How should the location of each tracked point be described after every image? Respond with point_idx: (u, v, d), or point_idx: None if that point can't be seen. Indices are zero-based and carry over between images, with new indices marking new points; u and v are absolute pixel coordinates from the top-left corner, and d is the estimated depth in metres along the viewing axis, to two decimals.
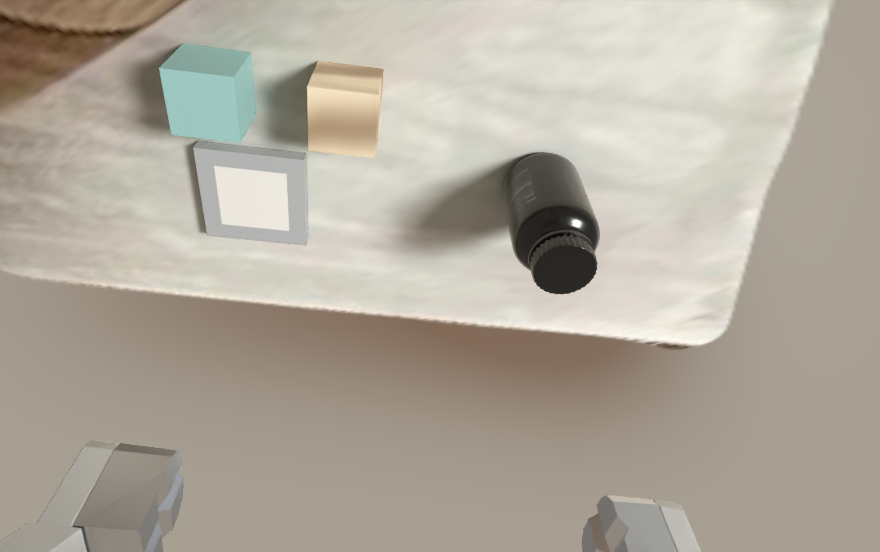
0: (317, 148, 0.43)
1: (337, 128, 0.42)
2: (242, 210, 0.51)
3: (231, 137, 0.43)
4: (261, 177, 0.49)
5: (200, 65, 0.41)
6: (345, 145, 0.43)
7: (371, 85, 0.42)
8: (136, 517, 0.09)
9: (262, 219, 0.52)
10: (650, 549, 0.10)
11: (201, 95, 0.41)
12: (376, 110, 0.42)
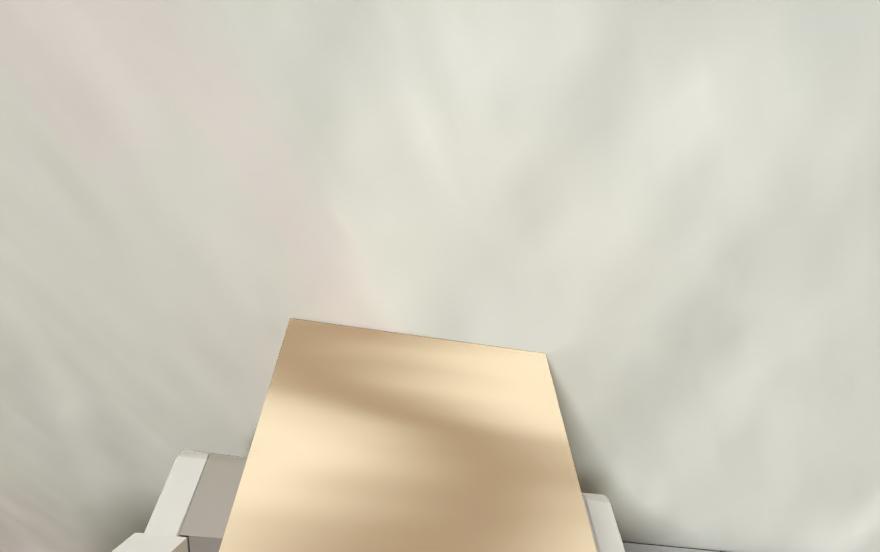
0: None
1: None
2: None
3: None
4: None
5: None
6: None
7: None
8: None
9: None
10: None
11: None
12: None
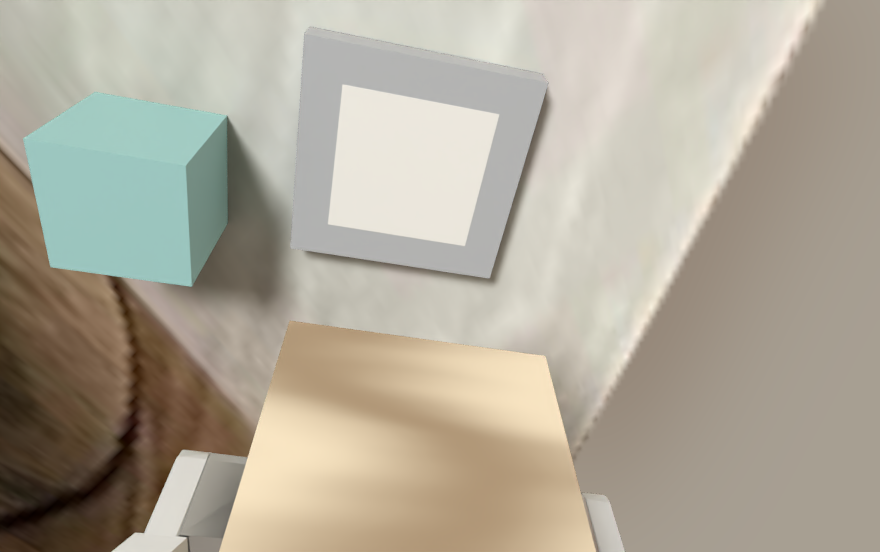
0: None
1: None
2: (434, 199, 0.24)
3: (176, 180, 0.19)
4: (353, 142, 0.23)
5: None
6: None
7: None
8: None
9: (460, 165, 0.23)
10: None
11: (87, 211, 0.20)
12: None
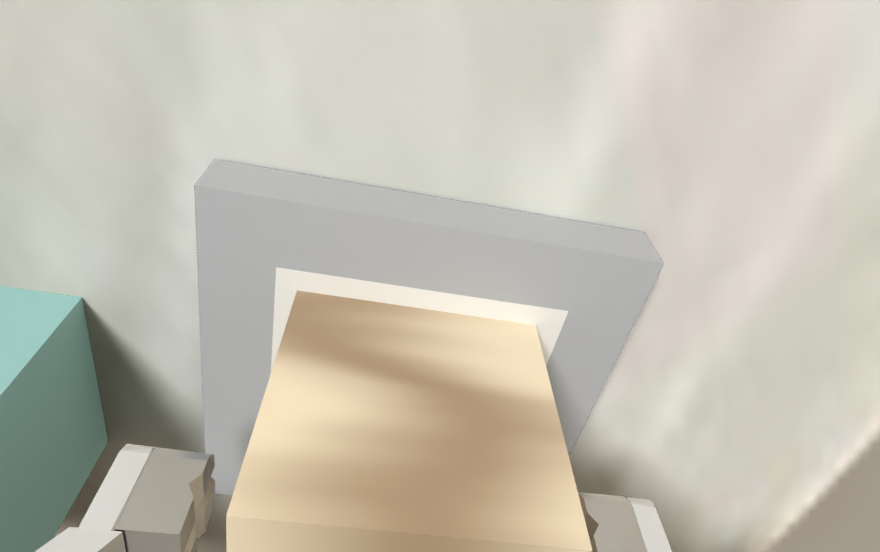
0: None
1: None
2: None
3: None
4: None
5: None
6: None
7: None
8: (175, 521, 0.09)
9: None
10: (619, 546, 0.10)
11: None
12: (317, 526, 0.08)
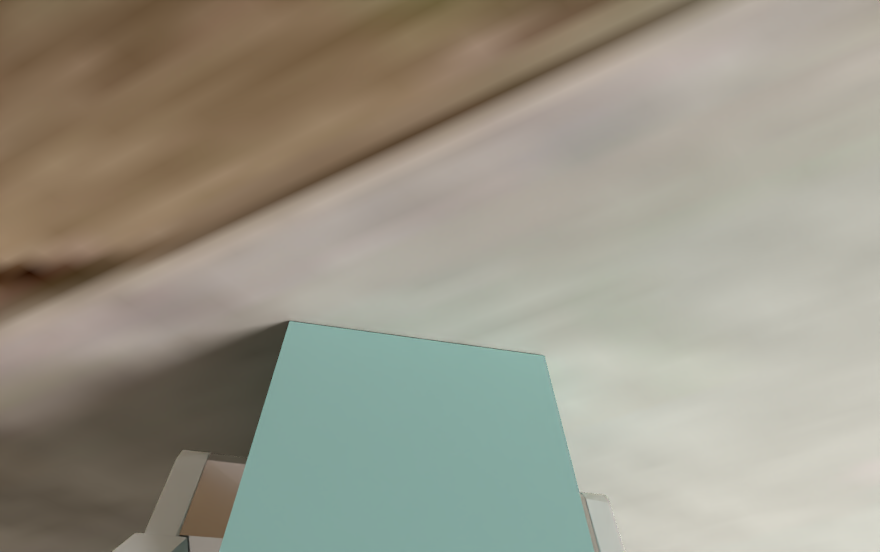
0: None
1: None
2: None
3: None
4: None
5: (409, 513, 0.08)
6: None
7: None
8: None
9: None
10: None
11: None
12: None
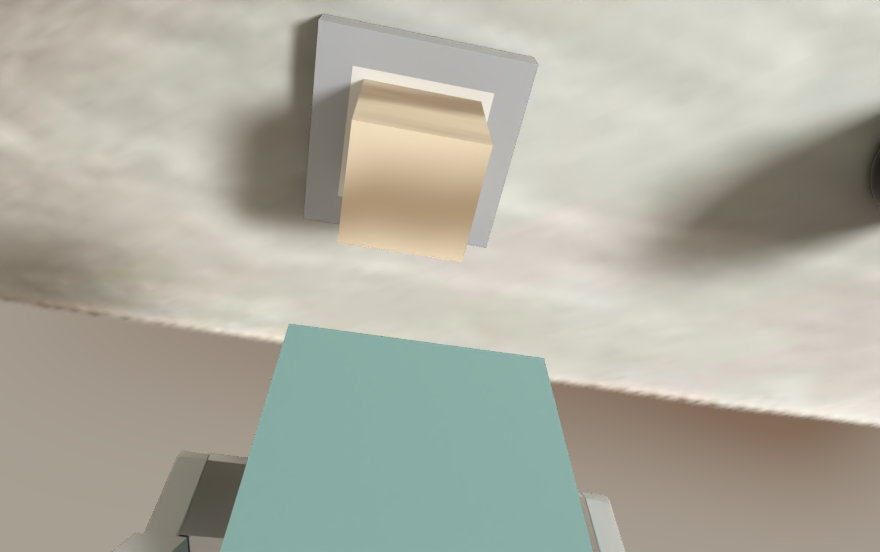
0: (356, 239, 0.23)
1: (400, 205, 0.22)
2: None
3: None
4: None
5: (408, 516, 0.08)
6: (411, 237, 0.23)
7: (473, 127, 0.22)
8: None
9: None
10: None
11: None
12: (482, 174, 0.21)
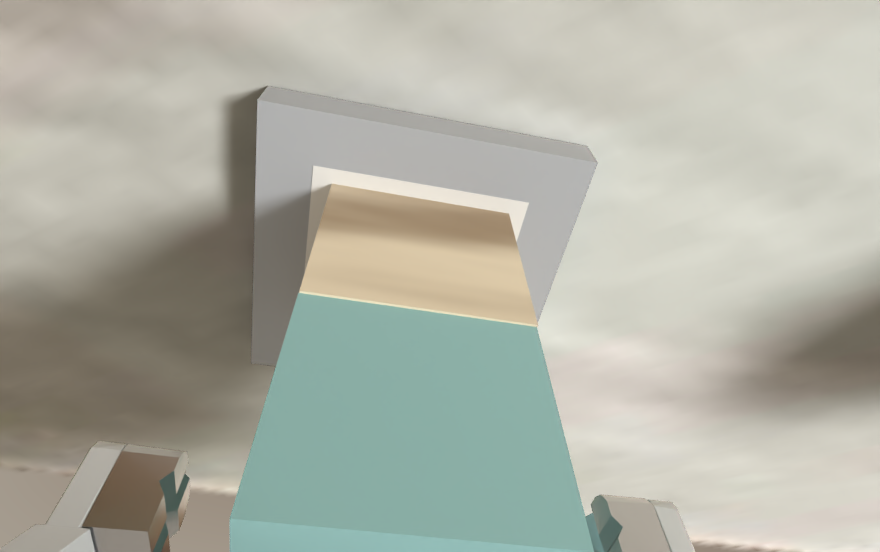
0: None
1: None
2: None
3: None
4: None
5: (409, 459, 0.09)
6: None
7: (502, 280, 0.13)
8: (144, 518, 0.09)
9: None
10: (644, 548, 0.10)
11: None
12: None
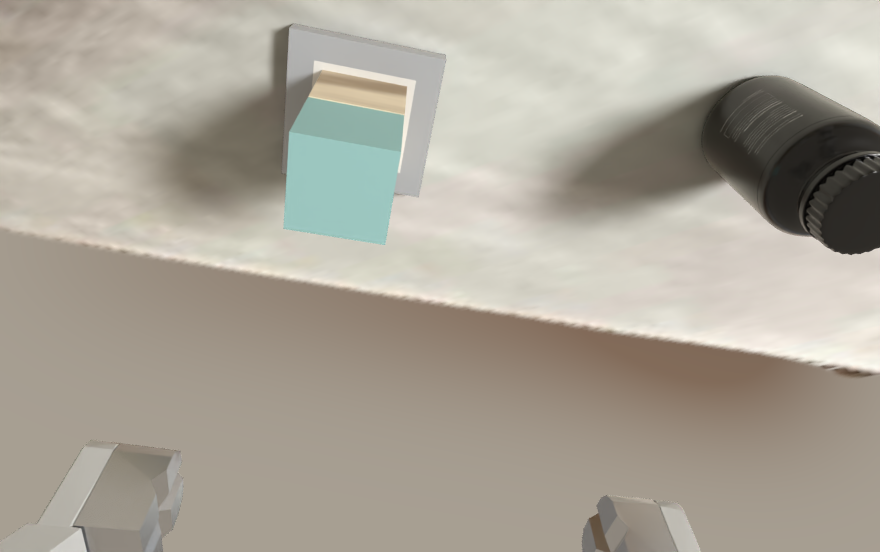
0: None
1: None
2: None
3: (373, 237, 0.29)
4: None
5: (345, 131, 0.27)
6: None
7: (394, 103, 0.31)
8: (136, 517, 0.09)
9: None
10: (650, 549, 0.10)
11: (344, 175, 0.27)
12: None
